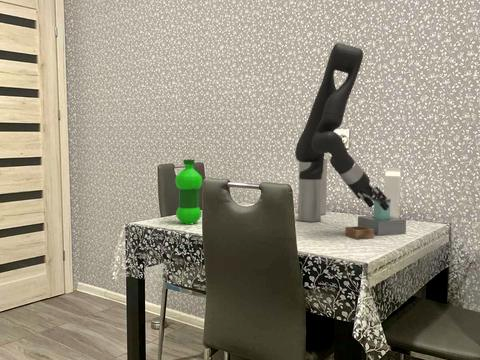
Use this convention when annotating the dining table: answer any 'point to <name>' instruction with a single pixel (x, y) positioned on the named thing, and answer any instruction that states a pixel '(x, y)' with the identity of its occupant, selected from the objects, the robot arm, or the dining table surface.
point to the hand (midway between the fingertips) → (379, 207)
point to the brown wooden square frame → (359, 232)
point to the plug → (381, 210)
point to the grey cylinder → (324, 182)
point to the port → (383, 225)
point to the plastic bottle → (188, 193)
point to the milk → (393, 189)
